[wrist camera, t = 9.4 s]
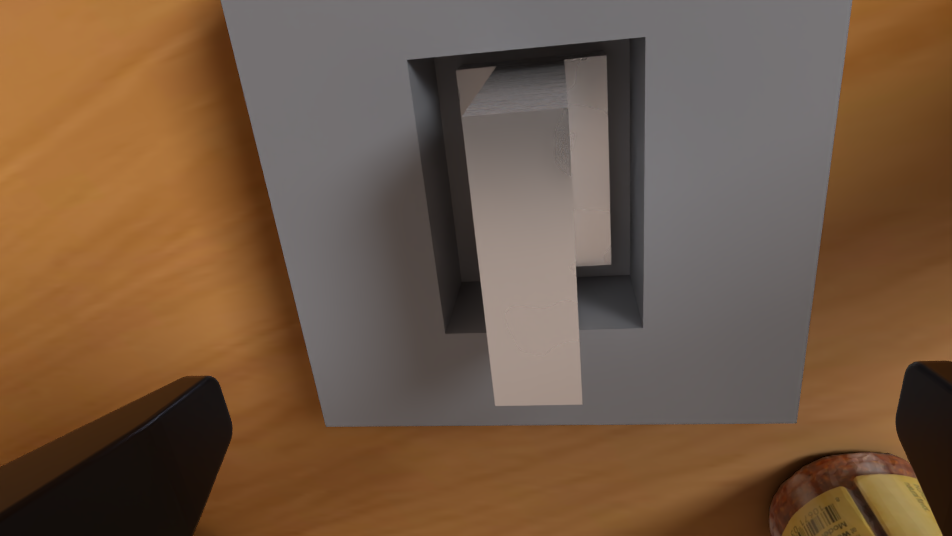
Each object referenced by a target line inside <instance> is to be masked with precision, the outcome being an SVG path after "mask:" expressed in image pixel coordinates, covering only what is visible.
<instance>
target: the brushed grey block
mask: <svg viewBox="0 0 952 536" xmlns="http://www.w3.org/2000/svg"><path fill="white" fill-rule="evenodd" d="M456 76H457V84H458V93H459V101H460V110H461V119H462V127H463V136H464V144H465V153H466V161H467V170H468V178H469V187H470V196H471V204H472V213H473V221H474V230H475V238H476V247H477V256H478V264H479V272H480V281H481V289H482V298H483V306H484V315H485V323H486V332H487V340H488V349H489V358H490V366H491V375H492V383H493V392H494V400H495V406H529V405H583V404H582V383H581V362H580V341H579V320H578V299H577V278H576V266H596V265H611V228H610V184H609V139H608V95H607V55H606V54H605V52H604V51H594V52H584V53H574V54H564V55H554V56H545V57H535V58H525V59H515V60H505V61H495V62H485V63H475V64H465V65H461V66H460V67H459V68H458V69H457V70H456Z"/></svg>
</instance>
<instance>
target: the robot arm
mask: <svg viewBox="0 0 952 536" xmlns="http://www.w3.org/2000/svg"><path fill="white" fill-rule="evenodd" d="M896 430H897V434H898V437H899V440H900V442H901V444H902V446H903V449H904V451H905V453H906V455H907V458H908V460H909V462H910V464H911V466H912V469H913V471H914V473H915V475H916V478H917V480H918V482H919V484H920V486H921V489H922V491H923V493H924V495H925V497H926V500H927V502H928V504H929V506H930V509H931V511H932V513H933V515H934V517H935V520H936V522H937V524H938V526H939V529H940V531H941V533H942V535H943V536H952V362H951V361H917V362H914V363H912V364H910V365H909V366H908V368H907V369H906V372H905V375H904V380H903V384H902V389H901V394H900V399H899V404H898V408H897V413H896ZM231 437H232V422H231V418H230V415H229V412H228V409H227V406H226V403H225V400H224V396H223V393H222V390H221V387H220V385H219V382H218V381H217V380H216V379H215V378H214V377H212V376H186V377H183V378H180V379H178V380H176V381H174V382H172V383H170V384H168V385H166V386H164V387H162V388H160V389H158V390H156V391H154V392H152V393H150V394H148V395H146V396H144V397H142V398H139V399H137V400H135V401H133V402H131V403H129V404H127V405H125V406H123V407H121V408H119V409H117V410H115V411H113V412H111V413H109V414H107V415H105V416H103V417H101V418H99V419H97V420H95V421H93V422H91V423H89V424H87V425H84V426H82V427H80V428H78V429H76V430H74V431H72V432H70V433H68V434H66V435H64V436H62V437H60V438H58V439H56V440H54V441H52V442H50V443H48V444H46V445H44V446H42V447H40V448H38V449H36V450H34V451H32V452H29V453H27V454H25V455H23V456H21V457H19V458H17V459H15V460H13V461H11V462H9V463H7V464H5V465H3V466H1V467H0V536H193V534H194V531H195V529H196V527H197V525H198V522H199V520H200V517H201V515H202V512H203V510H204V507H205V505H206V502H207V499H208V497H209V494H210V492H211V489H212V487H213V484H214V482H215V479H216V477H217V474H218V472H219V469H220V466H221V464H222V461H223V459H224V456H225V454H226V451H227V449H228V446H229V444H230V441H231Z"/></svg>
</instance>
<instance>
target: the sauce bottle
mask: <svg viewBox="0 0 952 536" xmlns="http://www.w3.org/2000/svg"><path fill="white" fill-rule="evenodd" d="M769 512H770V513H769V527H770V533H771V536H943V535H942V533H941V531H940V529H939V526H938V524H937V522H936V520H935V517H934V515H933V513H932V511H931V509H930V506H929V504H928V502H927V500H926V497H925V495H924V493H923V491H922V489H921V486H920V484H919V482H918V480H917V478H916V475H915V473H914V471H913V469H912V466H911V465H910V464H909V463H908V462H907V461H905V460H904V459H902V458H900V457H897V456H895V455H892V454H889V453H884V454H882V453H871V452H862V453H847V454H838V455H831V456H828V457H822V458H820V459H818V460H816V461H814V462H812V463H810V464H809V465H805V466H803V467H802V468H801V469H800V470H798V471H796V472H795V474H794V475H793V476H792V477H790V478H789V479H787V480H785V481H784V483H782V484H781V486H780V487H779V490H778V491H777V493H776V494H775V495H774V497H773V500H772V503H771V505H770V507H769Z"/></svg>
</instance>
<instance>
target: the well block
mask: <svg viewBox="0 0 952 536" xmlns="http://www.w3.org/2000/svg"><path fill="white" fill-rule="evenodd" d="M221 4H222V8H223V12H224V16H225V20H226V24H227V28H228V32H229V36H230V40H231V44H232V48H233V52H234V56H235V60H236V64H237V69H238V73H239V77H240V81H241V85H242V89H243V93H244V97H245V101H246V105H247V109H248V113H249V117H250V121H251V125H252V129H253V133H254V137H255V141H256V145H257V150H258V154H259V158H260V162H261V166H262V170H263V174H264V178H265V182H266V186H267V190H268V194H269V198H270V202H271V206H272V210H273V214H274V218H275V222H276V226H277V231H278V235H279V239H280V243H281V247H282V251H283V255H284V259H285V263H286V267H287V271H288V275H289V279H290V283H291V287H292V291H293V295H294V299H295V303H296V307H297V312H298V316H299V320H300V324H301V328H302V332H303V336H304V340H305V344H306V348H307V352H308V356H309V360H310V364H311V368H312V372H313V376H314V380H315V384H316V388H317V392H318V397H319V401H320V405H321V409H322V413H323V417H324V421H325V425H326V427H356V426H494V425H632V424H769V423H797V416H798V408H799V401H800V393H801V386H802V378H803V370H804V363H805V355H806V348H807V340H808V332H809V325H810V317H811V310H812V302H813V294H814V287H815V279H816V272H817V264H818V256H819V249H820V241H821V234H822V226H823V219H824V211H825V203H826V196H827V188H828V181H829V173H830V165H831V158H832V150H833V143H834V135H835V127H836V120H837V112H838V105H839V97H840V89H841V82H842V74H843V67H844V59H845V51H846V44H847V36H848V29H849V21H850V14H851V6H852V0H221ZM594 51H604V52H605V54H606V55H607V95H608V139H609V184H610V228H611V265H596V266H576V278H577V299H578V320H579V341H580V362H581V383H582V404H583V405H529V406H495V400H494V392H493V383H492V375H491V366H490V358H489V349H488V340H487V332H486V323H485V315H484V306H483V298H482V289H481V281H480V272H479V264H478V256H477V247H476V238H475V230H474V221H473V213H472V204H471V196H470V187H469V178H468V170H467V161H466V153H465V144H464V136H463V127H462V119H461V110H460V101H459V93H458V84H457V76H456V70H457V69H458V68H459V67H460V66H461V65H465V64H475V63H485V62H495V61H505V60H515V59H525V58H535V57H545V56H554V55H564V54H574V53H584V52H594Z"/></svg>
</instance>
